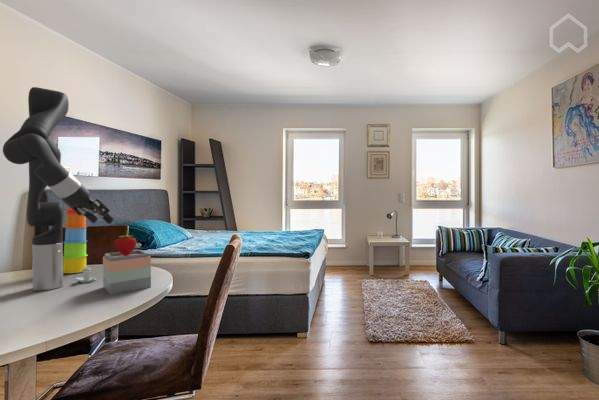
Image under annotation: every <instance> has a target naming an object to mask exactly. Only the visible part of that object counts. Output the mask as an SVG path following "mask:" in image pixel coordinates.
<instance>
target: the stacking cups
mask: <svg viewBox="0 0 599 400" xmlns="http://www.w3.org/2000/svg"><path fill="white" fill-rule="evenodd" d="M66 210H67V212H66V219H65V221H66V223H65V226H64V228H65V235H64V240H63V244H64V245H63V246H64V247H63V249H64V250H63V274H78V273H83V272H82V271H83V269H84V268H86V267H87V257H88V256H89V255H88V254H87V242H88V240H87V228H88V226H87V218H86V216H85V217H84V216H82V214H81V215H78V214H77V213H76V212H75V211H74V210H73V209H72V208H71V207H70V206H68V205H67V209H66ZM78 211H79V210H78Z"/></svg>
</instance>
